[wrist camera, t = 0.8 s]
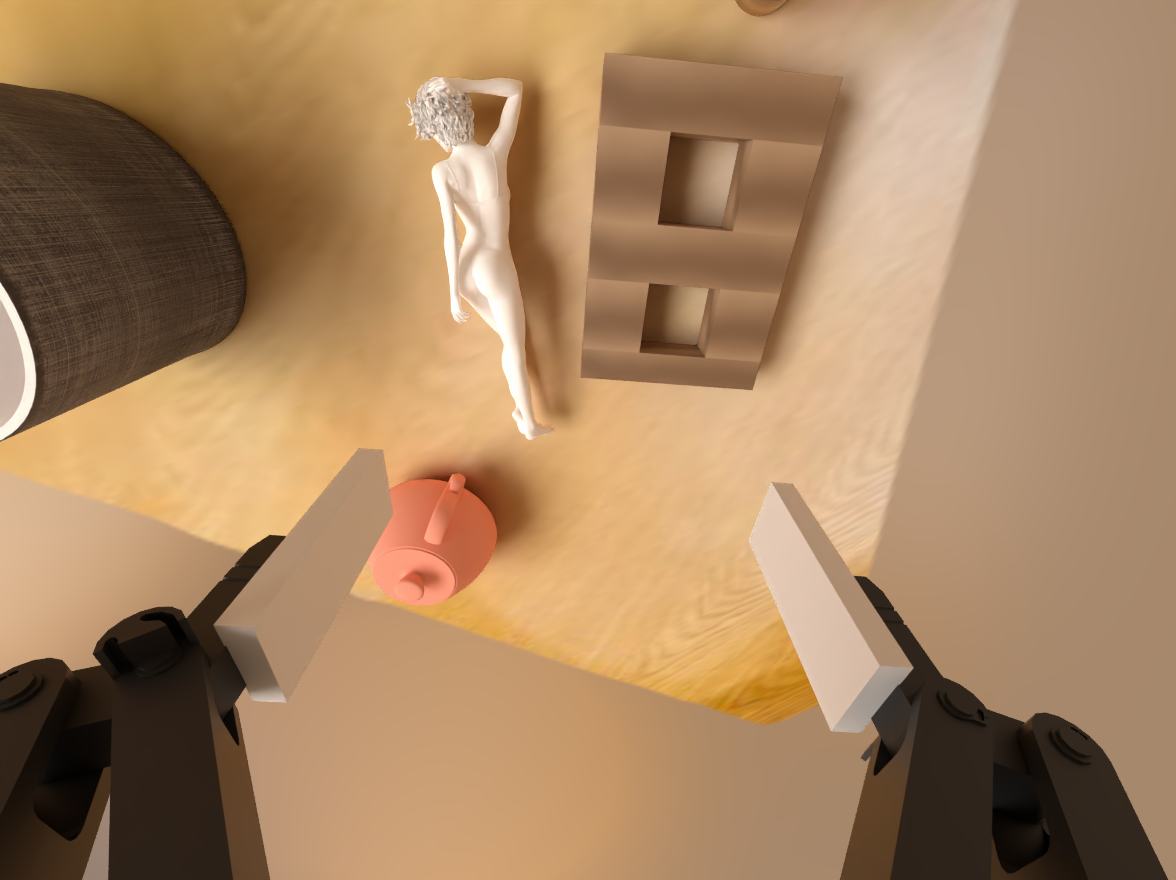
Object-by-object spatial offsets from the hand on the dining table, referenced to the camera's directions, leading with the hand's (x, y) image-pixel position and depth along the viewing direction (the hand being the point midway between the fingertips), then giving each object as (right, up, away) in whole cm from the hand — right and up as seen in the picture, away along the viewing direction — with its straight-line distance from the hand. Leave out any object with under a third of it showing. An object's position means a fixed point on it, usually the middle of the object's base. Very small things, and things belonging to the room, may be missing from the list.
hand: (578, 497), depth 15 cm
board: (+8, +17, +18) cm, 26 cm away
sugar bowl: (-14, -5, +31) cm, 35 cm away
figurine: (-6, +14, +20) cm, 25 cm away
